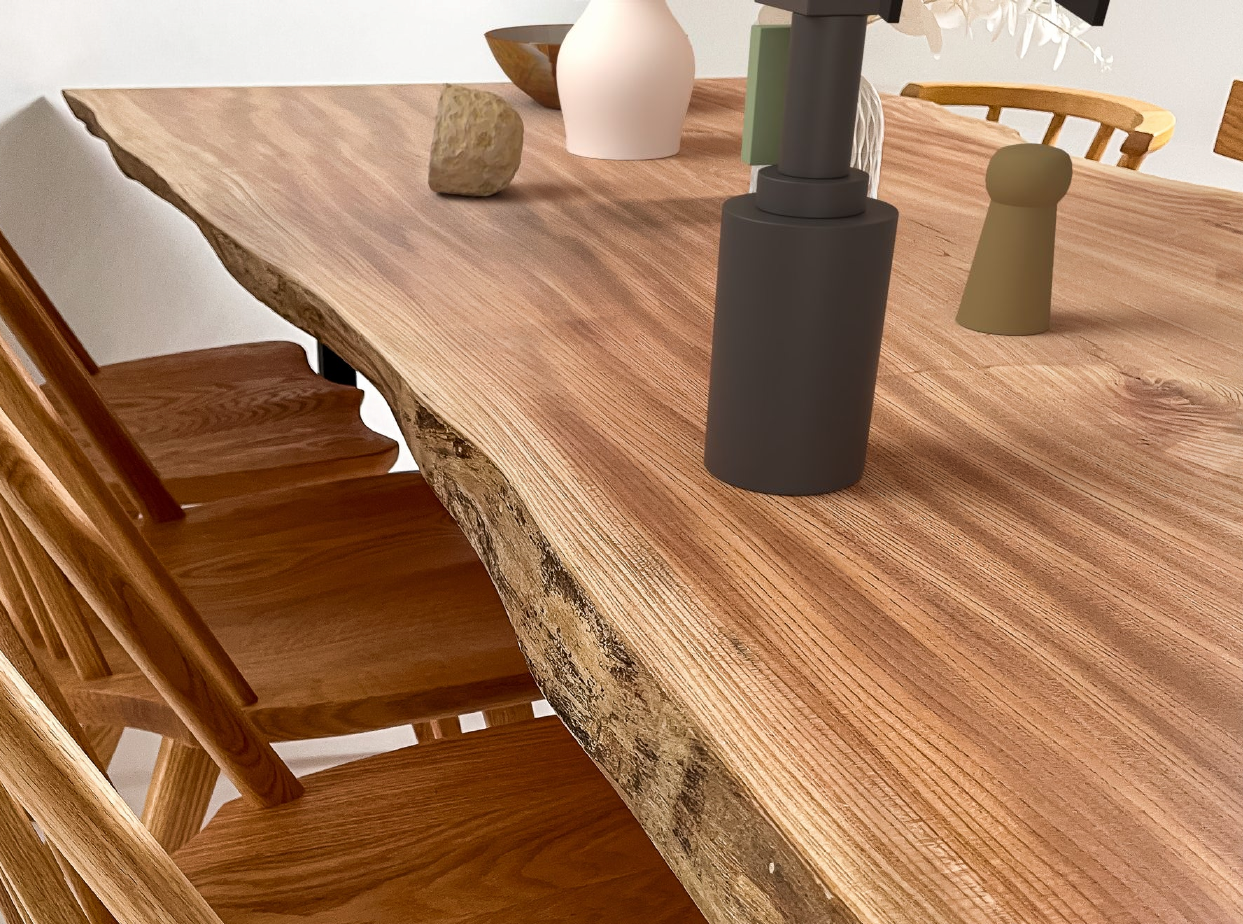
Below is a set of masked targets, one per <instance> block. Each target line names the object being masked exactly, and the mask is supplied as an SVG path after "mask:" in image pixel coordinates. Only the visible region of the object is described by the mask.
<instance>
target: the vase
mask: <svg viewBox="0 0 1243 924" xmlns="http://www.w3.org/2000/svg"><path fill="white" fill-rule="evenodd" d="M573 24H574V26H573V27H572V28H571V30H570V31H569V32H568V34H567V35H566V37H565V39H564V41H563V43H562V45H561V48H560V51H559V54H558V60H557V87H558V93H559V99H560V104H561V109H560V110H561V114H562V117H563V124H564V131H565V132H564V133H565V150H566V151H567V152H568V153H569V154H572V155H575V156H578V157H583V158H591V159H598V160H614V161H615V160H616V161H642V160H643V161H644V160H653V159H663V158H667V157H671V156H675V155H677V154H678V153H679V152H680V150H681V138H682V133H683V128H684V124H685V119H686V116H687V112H688V109H689V105H690V102H691V98H692V94H693V90H694V83H695V76H696V59H695V53H694V49H693V46H692V44H691V43H692V42H690V39H689V35H688V34H686V33H687V32H685V30H684V28H683V27H682V25H681V24H680V23H679V21H678V20H677V18H676V17H675V16H674V15H673V13H672V11H671V9H670V7H669V5H668V4H667V1H666V0H590V1H589V3H588V4H587V7H586V8H585V9H584V11H583V13H582V14H581V15H580V16H579V18H578V19H577V20H576V22H575V23H573ZM687 35H688V36H687Z"/></svg>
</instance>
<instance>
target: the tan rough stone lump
mask: <svg viewBox="0 0 1243 924" xmlns="http://www.w3.org/2000/svg"><path fill="white" fill-rule="evenodd" d="M437 101H438V102H437V108H436V115H435V117H434V120H435V123H434V127H433V134H432V138H431V139H432V140H431V145H430V150H429V151H430V152H429V161H428V171H427V184H428V186H429V189H430V190H431V191H432V192H434V193H443V194H450V195H458V196H459V195H460V196H466V197H467V196H468V197H469V196H470V197H488V196H491V195H494V194H496V193H499V192H502V191H504V190H505V189H506V188H507V187H508V186H510V183H511V182H512V180H513V179H515V177H516V173H517V172H518V171H519V168H520V165H521V164H522V153H523V147H524V133H525V124H524V121H523V119H522V116H521V115H520V114H519V112H518V111H517V110H515V109H514V108H512V105H511V104H510V102H508V101H506V100H505V99H504V97H502V96H500V95H498V94H496V93H493V92H491V91H487V90H479V89H477V88H468V87H464V86H462V85H457V84H450V83H448V82H445V83H442V87H441V90H439V96H438V100H437Z"/></svg>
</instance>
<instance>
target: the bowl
mask: <svg viewBox="0 0 1243 924" xmlns="http://www.w3.org/2000/svg"><path fill="white" fill-rule="evenodd" d="M574 24H575V23H555V24H554V23H553V24H550V23H549V24H530V25H528V24H527V25H516V26H508V27H502V28H501V27H500V28H495V29H491V30H488V31H486V32H485V33H484V34H483V36H484V38H485V41H486V43H487V45H488V48H489V50H490V52H491V54H492V56H493V57H494V60H495V61H496V63H497V64H498V66H499V67H500V70H502V72H503V73H504V74H505V76H506V77H507V78H508V79H509V80H510V82H511V83H513V85H514V86H515V87H517V89H519V90H521V91H522V92H523V93H525V94H526V95H527V96H528V97H530V98H531V99H532V100H534V101H536V102H537V103H538V104H540V105H541V106H542V107H545V108H549V109H550V108H551V109H555V110H562V109H561V104H560V99H559V93H558V87H557V60H558V54H559V51H560V48H561V45H562V43H563V41H564V39H565V37H566V35H567V34H568V32H569V31H570V30H571V28H572V27H573V26H574ZM686 35H687V36H688V37H689V35H688V34H686Z"/></svg>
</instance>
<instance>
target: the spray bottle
mask: <svg viewBox="0 0 1243 924" xmlns="http://www.w3.org/2000/svg"><path fill="white" fill-rule="evenodd" d="M754 3H757V4H760V5H763V6H768V7H771V8H775V9H779V10H782V11H786V12H791V22H790V24H791V32H790V43H789V54H788V65H787V76H786V87H785V98H784V109H783V120H782V131H781V142H780V153H779V164H776V165H765V166H764V167H763V166H762V167H761V168H760V169H758V171H757V176H756V177H757V178H756V188H755V192H749V193H743V194H738V195H736V196H733V197H730V198H727V199H726V200H725V201H724V202H723V203H722V206H721V216H720V218H721V219H720V231H719V244H718V258H717V272H716V286H715V297H714V311H713V312H714V313H713V326H712V341H711V355H710V368H709V383H708V395H707V410H706V421H705V422H706V424H705V437H704V450H703V464H704V467H705V469H706V471H708V472H709V473H710V474H711V475H712V476H713V477H715V478H716V479H718V480H720V481H722V482H724V483H727V484H729V485H732V486H735V487H737V488H741V489H744V490H747V491H751V492H752V491H753V492H757V493H763V494H764V493H765V494H769V495H779V496H780V495H781V496H812V495H821V494H827V493H832V492H836V491H841V490H843V489H846V488H848V487H851V486H853V485H854V484H856V483H857V482H859V481H860V479H862V477H863V475H864V472H865V468H866V467H865V466H866V460H867V459H866V458H867V452H868V444H869V436H870V429H871V422H872V414H873V408H874V401H875V393H876V387H877V380H878V379H877V378H878V370H879V364H880V356H881V349H882V342H883V334H884V327H885V326H884V325H885V319H886V311H887V304H888V299H889V298H888V297H889V290H890V282H891V275H892V267H893V261H894V253H895V252H894V251H895V245H896V238H897V231H898V225H899V224H898V223H899V216H900V212H899V209H898V208H897V207H896V206H894V205H893V204H891V203H889V202H887V201H884V200H881V199H877V198H874V197H870V196H868V193H869V186H870V185H869V184H870V174H869V173H868V172H867V171H865V170H863V169H860V168H857V167H853V166H851V165H852V156H853V147H854V140H855V139H854V138H855V130H856V121H857V114H858V113H857V112H858V106H859V105H858V104H859V95H860V86H861V78H862V70H863V68H862V67H863V61H864V54H865V44H866V43H865V42H866V35H867V26H868V19H869V18H868V17H869V16H879V15H878V13H879V5H880V0H754Z"/></svg>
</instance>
